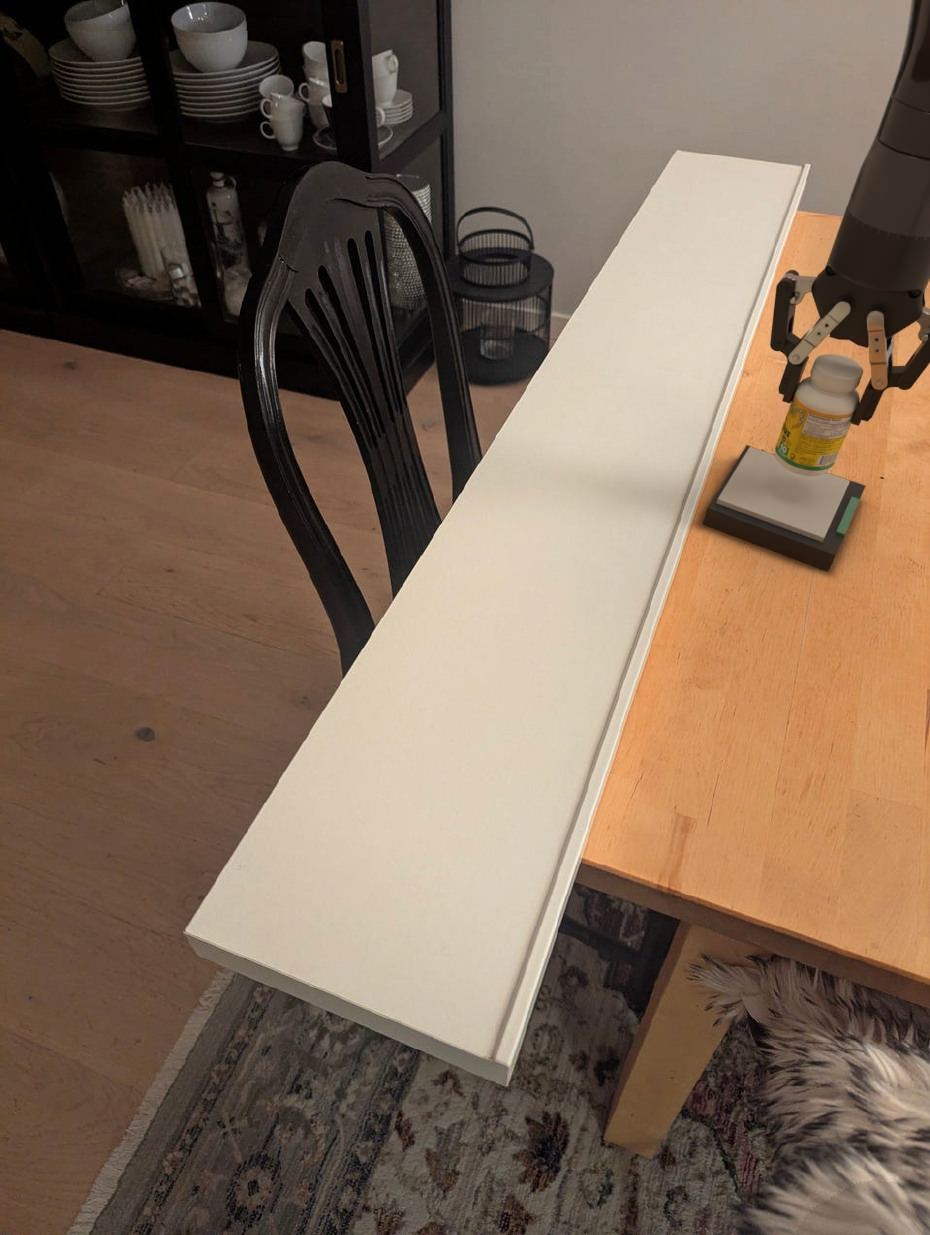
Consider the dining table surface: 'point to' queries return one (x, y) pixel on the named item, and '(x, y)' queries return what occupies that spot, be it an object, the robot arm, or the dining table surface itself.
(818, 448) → the supplement bottle
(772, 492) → the scale
